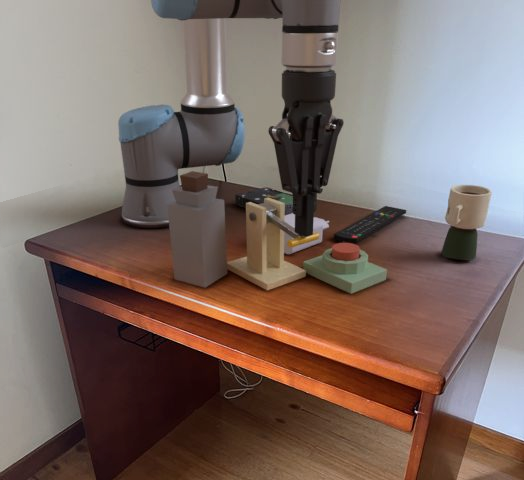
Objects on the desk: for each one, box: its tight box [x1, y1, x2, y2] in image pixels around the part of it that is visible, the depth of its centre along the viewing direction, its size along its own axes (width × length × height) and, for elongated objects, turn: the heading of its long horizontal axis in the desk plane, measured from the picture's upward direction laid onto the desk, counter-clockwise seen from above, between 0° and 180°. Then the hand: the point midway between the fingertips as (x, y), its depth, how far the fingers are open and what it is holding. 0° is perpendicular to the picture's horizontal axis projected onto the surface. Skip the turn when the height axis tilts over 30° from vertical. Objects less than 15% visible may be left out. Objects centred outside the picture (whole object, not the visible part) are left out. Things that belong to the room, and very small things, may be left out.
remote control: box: [333, 205, 407, 244], centre depth 119 cm, size 5×24×1 cm, turn 143°
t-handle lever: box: [258, 203, 319, 248], centre depth 91 cm, size 12×6×2 cm, turn 39°
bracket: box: [227, 198, 307, 291], centre depth 96 cm, size 12×9×13 cm
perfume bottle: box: [167, 170, 228, 289], centre depth 93 cm, size 7×7×18 cm
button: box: [331, 242, 361, 261], centre depth 96 cm, size 5×5×2 cm
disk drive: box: [234, 186, 293, 215], centre depth 131 cm, size 10×3×15 cm
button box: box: [302, 247, 388, 295], centre depth 97 cm, size 12×9×4 cm
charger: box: [284, 213, 330, 255], centre depth 112 cm, size 5×9×15 cm
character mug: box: [441, 184, 493, 261], centre depth 102 cm, size 11×7×13 cm, turn 140°
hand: (303, 233), depth 88 cm, fingers closed
